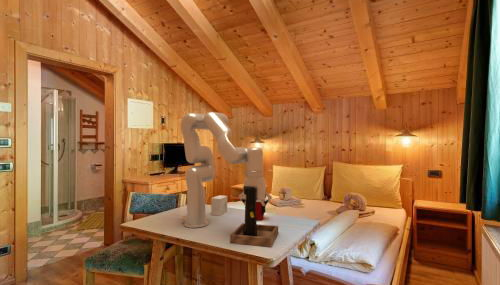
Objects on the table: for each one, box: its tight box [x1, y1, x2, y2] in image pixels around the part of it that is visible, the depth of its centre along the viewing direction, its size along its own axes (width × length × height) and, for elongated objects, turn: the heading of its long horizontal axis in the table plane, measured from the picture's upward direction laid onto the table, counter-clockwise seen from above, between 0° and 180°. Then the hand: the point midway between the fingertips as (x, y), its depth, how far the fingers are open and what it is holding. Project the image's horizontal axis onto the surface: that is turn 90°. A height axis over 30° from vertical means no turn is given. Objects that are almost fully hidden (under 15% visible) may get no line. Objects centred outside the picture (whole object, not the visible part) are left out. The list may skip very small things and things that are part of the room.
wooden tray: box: [229, 222, 279, 248], centre depth 119 cm, size 18×18×4 cm
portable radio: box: [242, 185, 257, 236], centre depth 117 cm, size 8×6×25 cm
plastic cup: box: [256, 197, 268, 222], centre depth 150 cm, size 11×11×12 cm
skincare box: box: [210, 194, 228, 216], centre depth 164 cm, size 10×6×10 cm, turn 159°
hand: (255, 213), depth 119 cm, fingers open, 6 cm apart
